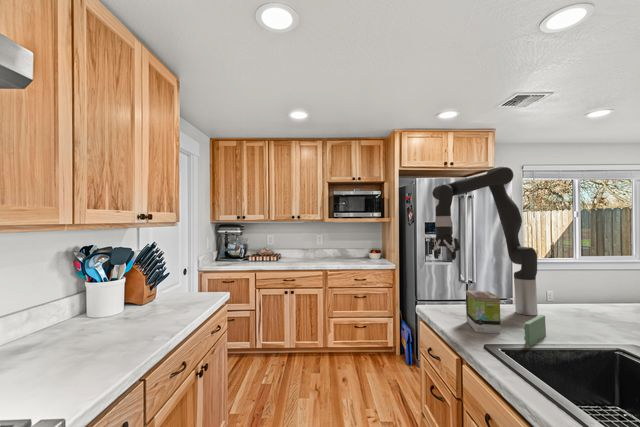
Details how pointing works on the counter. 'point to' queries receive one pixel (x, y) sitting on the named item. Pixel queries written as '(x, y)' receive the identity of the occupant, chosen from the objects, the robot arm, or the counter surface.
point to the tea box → (483, 311)
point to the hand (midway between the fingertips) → (444, 259)
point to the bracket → (534, 330)
